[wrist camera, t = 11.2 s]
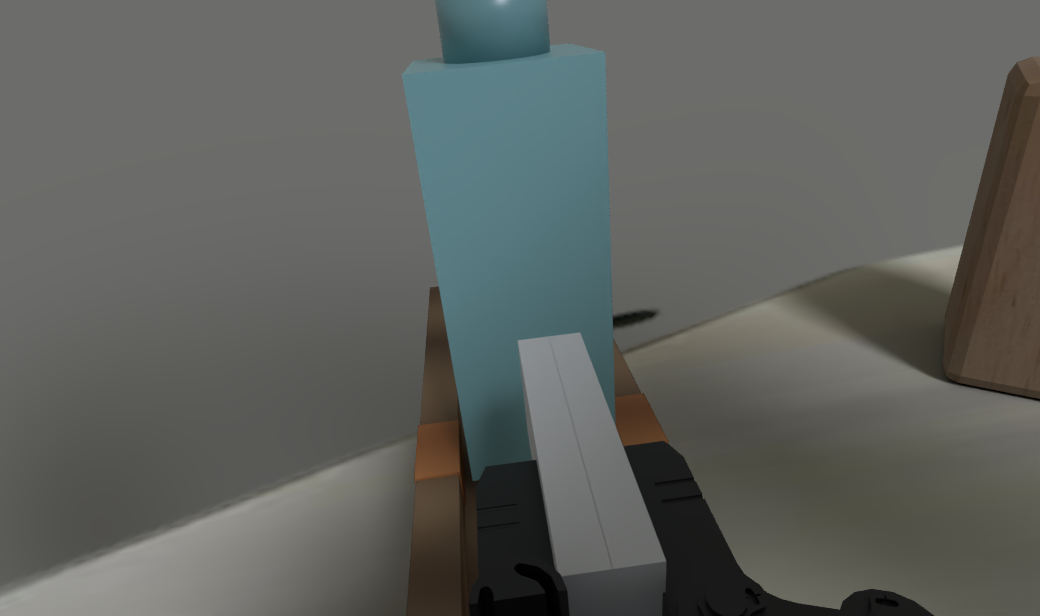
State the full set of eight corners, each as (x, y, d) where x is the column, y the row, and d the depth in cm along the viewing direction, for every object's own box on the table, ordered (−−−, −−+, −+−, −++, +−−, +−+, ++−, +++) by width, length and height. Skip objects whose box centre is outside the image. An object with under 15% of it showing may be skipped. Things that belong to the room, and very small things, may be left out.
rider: (617, 491, 21) (602, -43, 14) (478, 513, 21) (385, -20, 13) (587, 408, 26) (564, -28, 18) (473, 425, 25) (401, -11, 18)
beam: (843, 1174, 14) (958, 1004, 9) (470, 1255, 14) (364, 1126, 9) (586, 419, 41) (578, 266, 36) (456, 438, 41) (428, 286, 35)
